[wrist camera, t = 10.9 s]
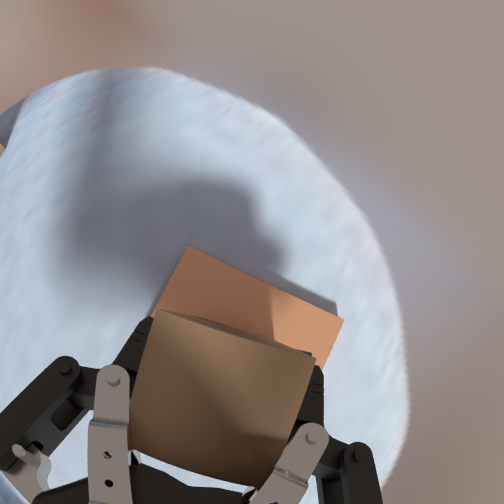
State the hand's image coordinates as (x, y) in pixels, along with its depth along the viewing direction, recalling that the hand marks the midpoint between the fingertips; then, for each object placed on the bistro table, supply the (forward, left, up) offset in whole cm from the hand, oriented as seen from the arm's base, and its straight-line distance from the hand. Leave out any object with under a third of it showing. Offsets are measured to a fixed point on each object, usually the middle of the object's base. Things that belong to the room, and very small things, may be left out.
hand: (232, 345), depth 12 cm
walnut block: (0, -2, -6) cm, 6 cm away
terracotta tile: (0, -2, -7) cm, 7 cm away
